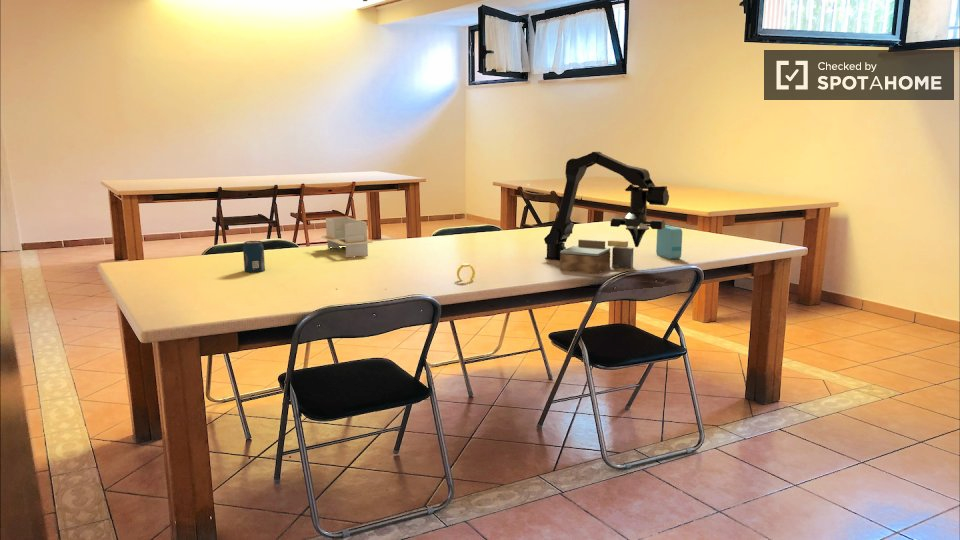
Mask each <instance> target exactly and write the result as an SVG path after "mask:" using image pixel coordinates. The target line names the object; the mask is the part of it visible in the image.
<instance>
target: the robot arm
mask: <svg viewBox="0 0 960 540" xmlns="http://www.w3.org/2000/svg"><path fill="white" fill-rule="evenodd" d="M595 164H596V165H598V166H601V167H603V168H605V169H606V170H609V171H611V172H613V173H616V174H618V175H620V176H621V177H622V178H624V180H625V181H627V182H629V183H630V184H629V185H628V186H627V187H626V188H625V189H624V190H625V192H630V205H629V206H630V207H629V209H628V213H627V214H626V215H625V217H613V218H612V219H611V220H610V224H609V225H610V227H617V228H618V227H620V226H625V230H628V232H629V233H630V235H631V238H632V241H633V243H634V248H638V247H639V246H640V243H641V241H642V239H643V236H644V234H645V233H646V231H648V230H650V228H651V229H652V230H657V229H663V228H665V226H666V221H665V219H653V220H651V221H647V209H648V206H647V205H648V204H649V206H663V207H664V206H667V205H668V203H669V201H670V195H669V190H668V186H667V185H662V186H659V185H658V186H657V185H655V183H654V181H653V180H652V178H651V173H650V172H649V170H648V169H646V168H644V167H643V168H642V167H640V166H639V167H638V166H632V165H628V164H626V163H623V162H621V161H619V160H617V159H615V158H612V157H610V156H608V155H606V154H603V152H600V151H592V152H590V153H588V154H586V155H585V154H584V155H583V156H581V157H576V158H575V157H573V158H570V159H568V160H567V161H566V165H565V171H564V172H565V174H564V175H565V178H566V181H565V182H566V183H565V185H564V186H565V187H564V190H563V195H562V199H561V204H560V206H559V212H558V215H557V217H556V219H555V220H554V222H553V223H552V226H551V228H550V231H549V233H548V234H547V235H546V236H545V237H544V238H543V240H544V244H545V245H546V256H545V257H544V259H545V260H552V261H553V260H554V261H560V254H562V253H560V251H562V250H564V249H567V247H566V246H565V243H566V242H567V240H568V238H570V236H571V235H572V234H573V229H574V226H575V223H573V222H572V220H571V216H572V212H573V208H574V204H575V201H576V196H577V193H578V188H579V185H580V182H581V181H582V179H583V178H584V177H585V174H586V173H587V172H586V171H587V169H588V168H590V167H592V166H595ZM647 203H648V204H647Z"/></svg>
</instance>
